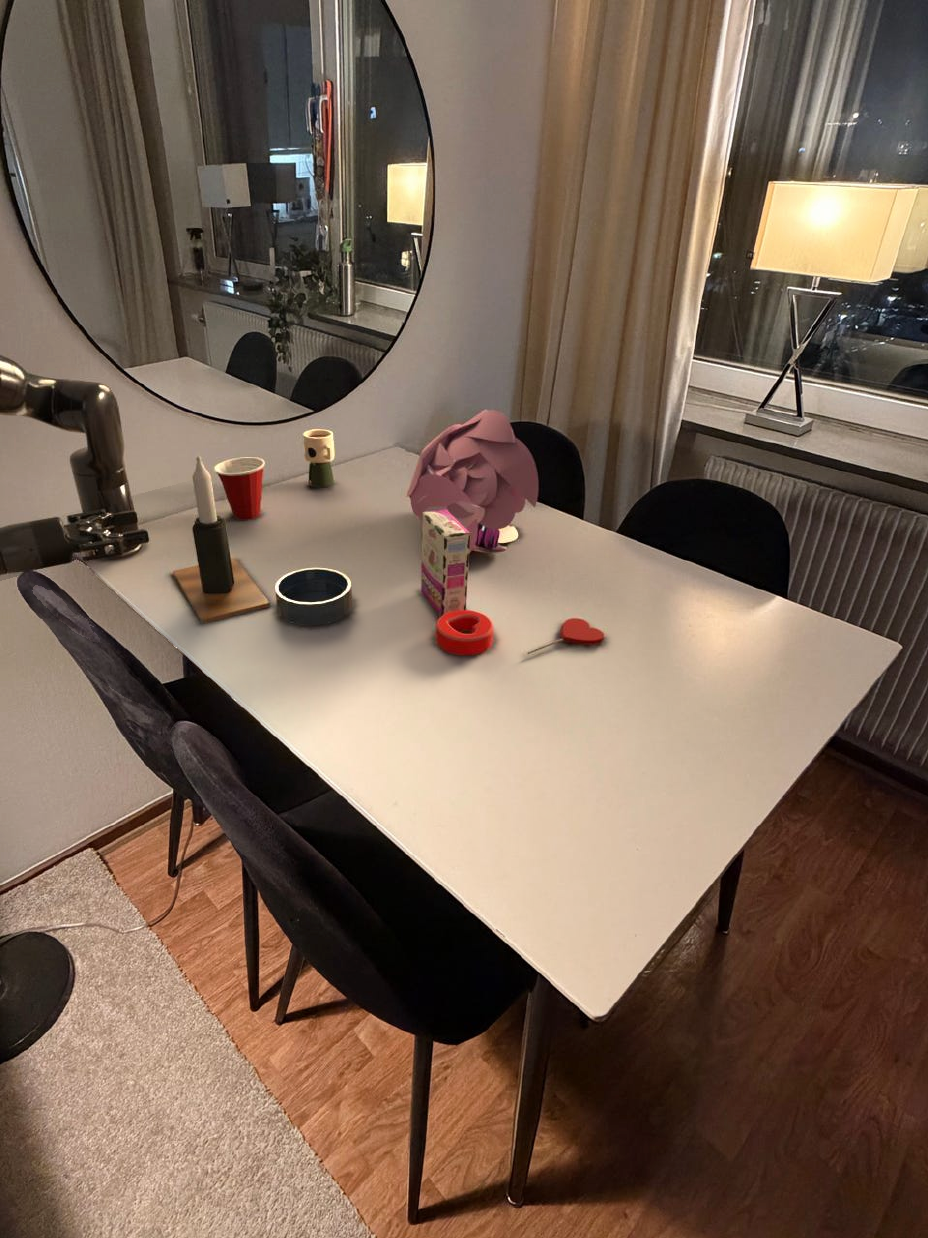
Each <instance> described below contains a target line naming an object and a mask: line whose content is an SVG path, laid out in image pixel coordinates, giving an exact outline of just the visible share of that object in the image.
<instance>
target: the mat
mask: <svg viewBox="0 0 928 1238" xmlns="http://www.w3.org/2000/svg"><path fill="white" fill-rule="evenodd" d="M231 563H232V570H233V577H234V583H233V585H232V587H231V589H232V590H231V591H230V592H229V593H219V594H207V593H204V592H203V589H202V583H201V577H200V571H199V565H195V566H190V567H185V568H180V569H175V570H172V575H173V577H174V578H175V581H176V582H177V583H178V585H179V588H181V590H182V592H183V593H184V595H185V597H186V598H187V600H188V602H189V603H190V605H191V607H192V608H193V610H194V612H195V614H196V615H197V617H198V619H199V620H200V622H201V623H202V624H205V623H209V622H214V621H217V620H220V619H224V618H229V617H233V616H237V615H240V614H241V615H242V614H245V613H249V612H253V611H257V610H261V609H264V608H269V607H271V606H270V605H271V604H270V601H269V600H268V599H267V598H266V596H265V595H264V594H263V593H262V591H261V590H260V588H259V587H258V586H257V585H256V583H255V582H254V581H253V580H252V578H251V577H250V575H249V574H248V573H247V571H245V569H244V567H242V565H241V564H240V563H239V562H238V560H237V559H236V557H231Z"/></svg>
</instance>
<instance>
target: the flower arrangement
mask: <svg viewBox="0 0 928 1238" xmlns="http://www.w3.org/2000/svg"><path fill="white" fill-rule="evenodd" d="M405 497H406V498H408V497H409V500H410V507H411V511H412V512H413V514H414V515H415V516H416V517H417V518H418V519H419V520H420V521H421V522H422V523H423V514H422V513H423V512H430V511H437V510H447V511H448V512H449V513H450V514H451V515H452V516H453V517H454V518H455V519H456V520H457V521H458V522H459V523H460V524H461V525H462V526H463V527H464V528H465V529H466V530H467V531H469V532H470V547H469V554H471V552H472V551H474V552H480V553H489V554H492V553H494V554H495V553H504V552H506V551H507V547H506V546H502V545H501V544H504V543H505V544H506V543H511V542H513V541H515V540H516V539H518V538H519V533H518V530H517V529H516V528H515V526H514V525H513V526H510V524H511V523H512V522H513V520H514V519H515V516H516V514H519V513H522V511H524V508H525V506H526V502H528V503H529V504H530V505H531V506H532V507H533V508H536V505H537V503H538V497H539V474H538V469H537V465H536V462H535V460H534V457H533V455H532V453H531V452H530V450H529V448H528V447H527V446H526V445H525V444H524V443H523V442H522V441H521V440H520V439H519V438H517V437H516V436H515V433H514V430H513V427H512V425H511V422H510V420H509V419H508V417H507V416H506V415H505V414H504V413H502V412H501V411H499V410H495V409H493V410H492V409H490V410H489V409H484V410H482V411H481V412H479V413H478V414H476V415H475V416H473V417H471V418H470V419H469V420H467V421H466V422H464V423H463V424H457V423H456V424H452V425H450V426H449V427H447V428H445V429H444V430H443V431H442V432H441V433H439V434H438V435H437V436H436V437H435V438H434V439H432V441H431V442H430V443H428V444H427V445H426V446H425V447H424V448H423V450H422V451H421V453H420V455H419V457H418V460H417V463H416V465H415V468H414V471H413V475H412V477H411V481H410V484H409V487H408V490H407V492H406V496H405Z"/></svg>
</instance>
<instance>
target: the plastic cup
mask: <svg viewBox="0 0 928 1238" xmlns="http://www.w3.org/2000/svg"><path fill="white" fill-rule="evenodd" d="M265 465H266V462H265V460H264V459H262V458H259V457H253V456H252V457H251V456H247V457H246V456H245V457H236V458H229V459H227V460H224V461H223V460H222V461H221V462H219V463H217V464H216V465H215V466H214V467H213V471H214V472H215V473H216V474H217V475H218V478H219V480H220V482H221V484H222V487H223V490H224V493H225V496H226V499H227V502H228V503H229V506H230V510H231V513H232V515H233V517H234V518H235V519H238V520H244V521H245V520H246V521H247V520H253V519H256V518H258V517H260V514H261V507H262V496H263V495H262V494H263V477H264V467H265Z"/></svg>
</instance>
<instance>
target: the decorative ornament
mask: <svg viewBox="0 0 928 1238" xmlns="http://www.w3.org/2000/svg"><path fill="white" fill-rule="evenodd" d="M435 627H436V628H435V631H436V632H435V642H436V644H437V646H439V647H440V648H441V649H442V650H443V651H446V652H447V653H450V654H452V655H453V654H454V655H458V656H474V655H478V654H482V653H484V652H486V651H487V650H489V649H490V647H492V644H493V637H494V623H493V621H492V620H491V619H490V618H489V617H488V616H487V615H486V614H484V613H481V612H479V611H475V610H470V609H466V610H457V611H451V612H448V613H446V614H444V615H443V616H441V617H440V616H439V618H438V619H437V620H436V626H435ZM462 632H471V633H462Z"/></svg>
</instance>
